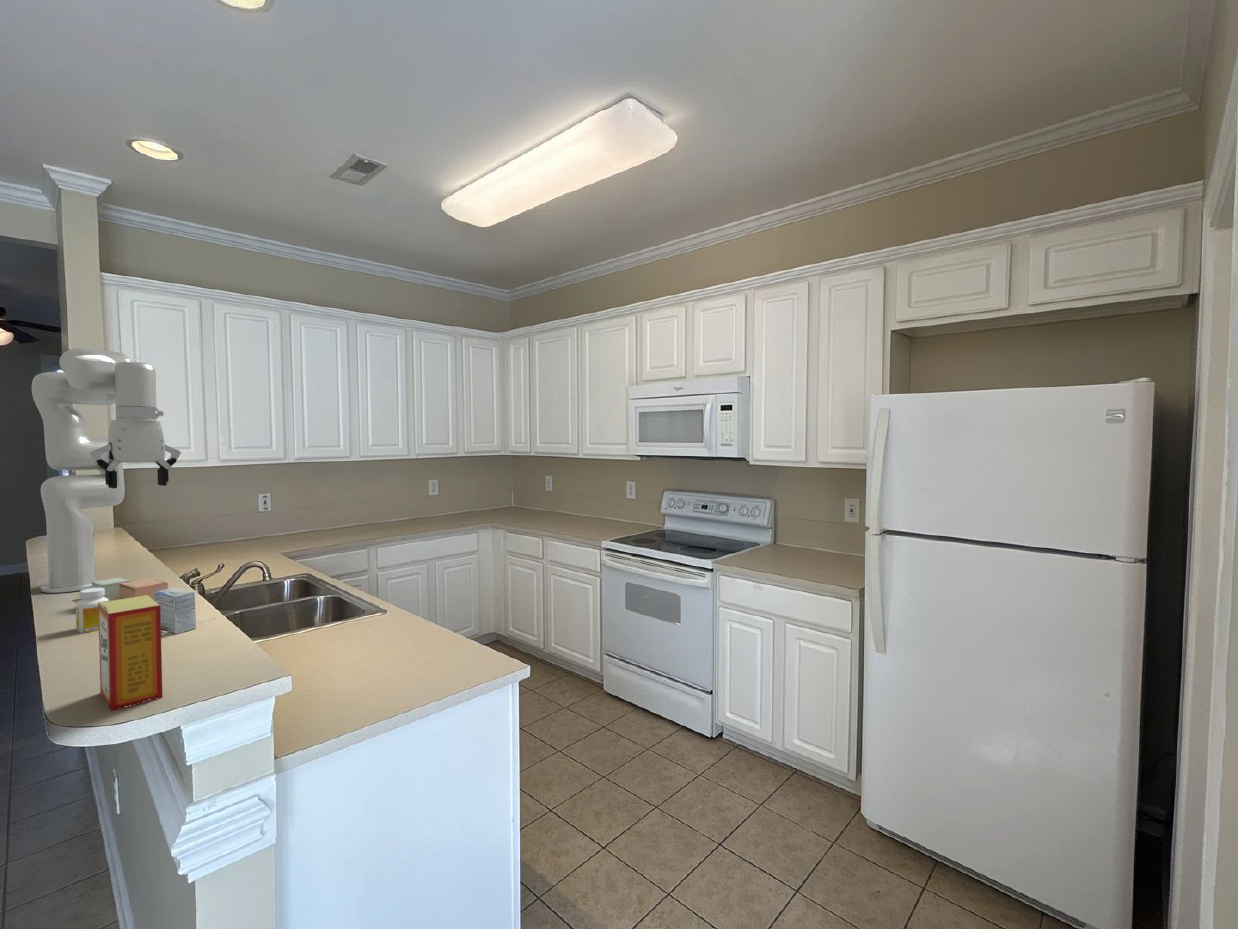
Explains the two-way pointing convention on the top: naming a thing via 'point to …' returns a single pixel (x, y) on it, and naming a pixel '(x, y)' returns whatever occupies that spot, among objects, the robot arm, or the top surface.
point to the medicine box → (176, 609)
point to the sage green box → (110, 587)
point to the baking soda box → (130, 651)
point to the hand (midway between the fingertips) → (138, 486)
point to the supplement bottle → (89, 609)
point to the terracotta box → (142, 588)
